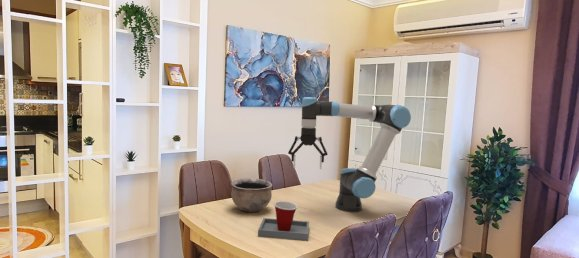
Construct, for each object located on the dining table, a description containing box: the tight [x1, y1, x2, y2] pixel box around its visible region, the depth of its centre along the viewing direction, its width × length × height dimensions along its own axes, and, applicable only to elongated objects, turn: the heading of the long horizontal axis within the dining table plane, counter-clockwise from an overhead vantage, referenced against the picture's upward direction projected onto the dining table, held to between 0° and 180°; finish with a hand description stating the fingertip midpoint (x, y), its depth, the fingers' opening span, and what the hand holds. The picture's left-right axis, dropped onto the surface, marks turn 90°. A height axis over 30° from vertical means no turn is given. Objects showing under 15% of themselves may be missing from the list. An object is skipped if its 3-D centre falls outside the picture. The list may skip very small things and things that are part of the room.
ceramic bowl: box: [230, 178, 273, 213], centre depth 195 cm, size 22×22×15 cm
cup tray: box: [257, 217, 310, 242], centre depth 166 cm, size 22×16×3 cm
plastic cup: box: [273, 200, 298, 231], centre depth 165 cm, size 11×11×12 cm
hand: (307, 168), depth 187 cm, fingers open, 13 cm apart
